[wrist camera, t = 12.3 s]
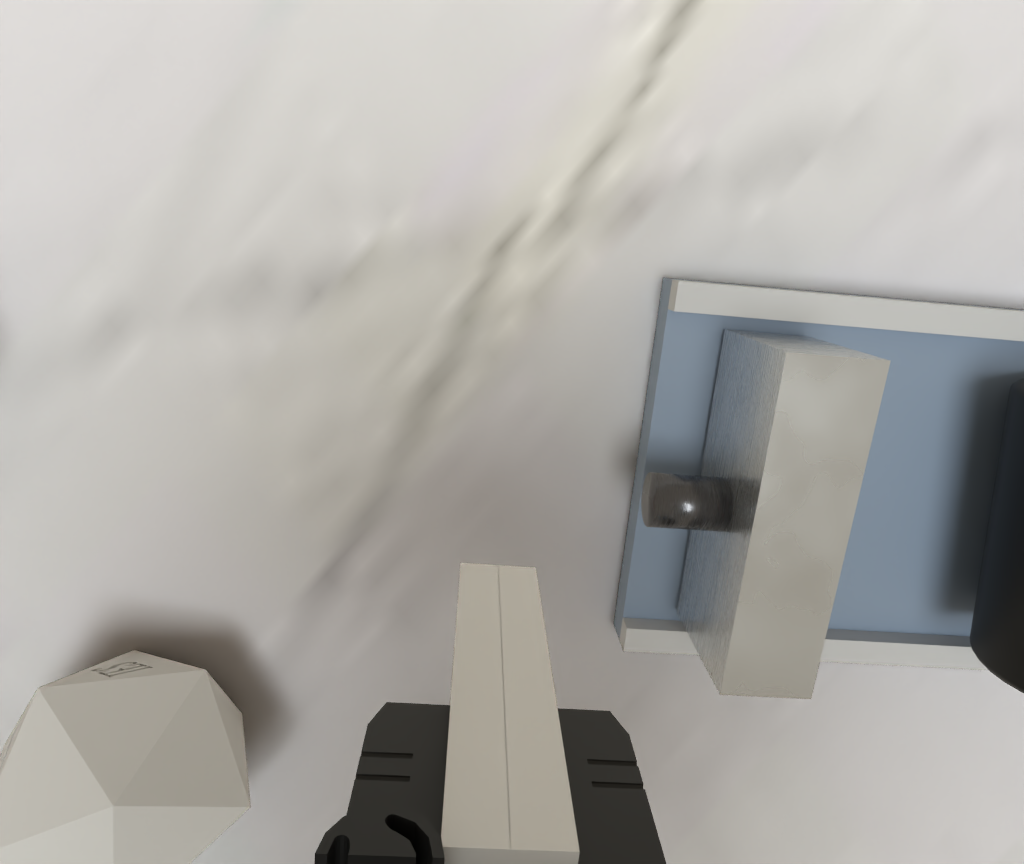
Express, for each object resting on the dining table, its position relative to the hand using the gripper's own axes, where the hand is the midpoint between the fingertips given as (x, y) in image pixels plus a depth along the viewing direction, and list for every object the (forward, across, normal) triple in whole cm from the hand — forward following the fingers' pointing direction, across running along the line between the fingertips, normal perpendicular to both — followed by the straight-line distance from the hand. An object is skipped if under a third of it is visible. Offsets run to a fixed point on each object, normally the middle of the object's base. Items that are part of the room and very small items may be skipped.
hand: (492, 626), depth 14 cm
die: (+13, +12, +12) cm, 22 cm away
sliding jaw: (+11, -8, 0) cm, 14 cm away
